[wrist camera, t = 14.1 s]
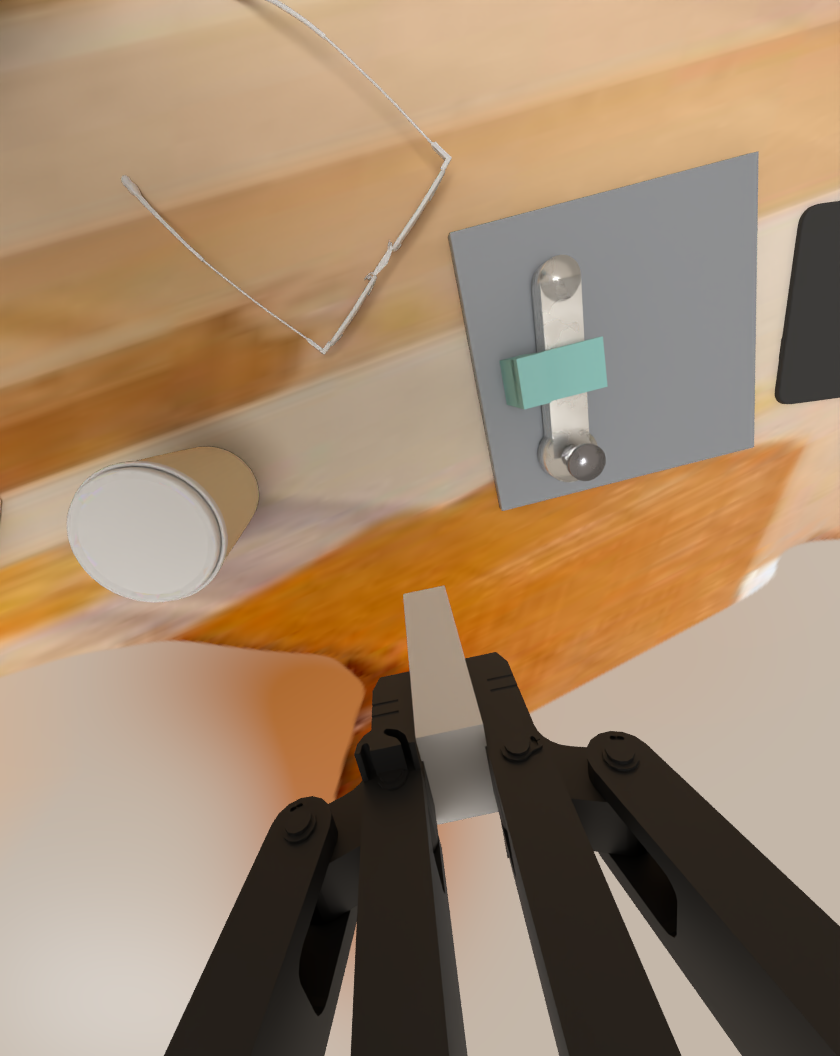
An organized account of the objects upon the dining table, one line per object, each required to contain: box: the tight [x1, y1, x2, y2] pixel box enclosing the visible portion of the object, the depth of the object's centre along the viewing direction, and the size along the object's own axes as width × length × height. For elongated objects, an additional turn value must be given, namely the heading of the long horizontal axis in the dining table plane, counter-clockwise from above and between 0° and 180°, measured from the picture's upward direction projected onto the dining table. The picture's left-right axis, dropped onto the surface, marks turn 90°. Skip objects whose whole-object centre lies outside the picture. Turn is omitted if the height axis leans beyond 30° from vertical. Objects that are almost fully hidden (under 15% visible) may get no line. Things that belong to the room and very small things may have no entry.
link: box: [531, 255, 606, 482], centre depth 34 cm, size 17×4×5 cm, turn 10°
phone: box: [775, 201, 840, 404], centre depth 37 cm, size 7×1×15 cm
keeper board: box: [448, 151, 758, 511], centre depth 34 cm, size 22×23×6 cm
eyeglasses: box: [122, 0, 452, 355], centre depth 30 cm, size 15×18×4 cm
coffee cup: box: [67, 447, 259, 602], centre depth 33 cm, size 9×9×12 cm
